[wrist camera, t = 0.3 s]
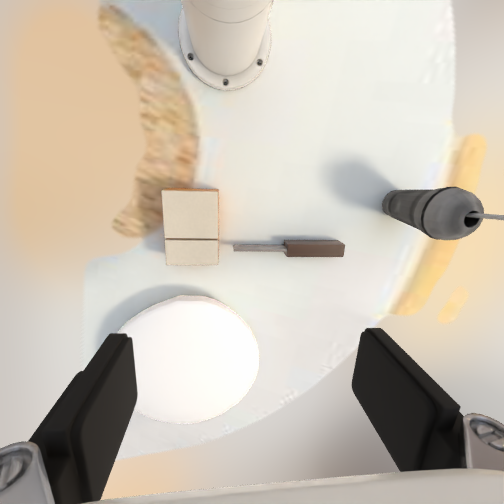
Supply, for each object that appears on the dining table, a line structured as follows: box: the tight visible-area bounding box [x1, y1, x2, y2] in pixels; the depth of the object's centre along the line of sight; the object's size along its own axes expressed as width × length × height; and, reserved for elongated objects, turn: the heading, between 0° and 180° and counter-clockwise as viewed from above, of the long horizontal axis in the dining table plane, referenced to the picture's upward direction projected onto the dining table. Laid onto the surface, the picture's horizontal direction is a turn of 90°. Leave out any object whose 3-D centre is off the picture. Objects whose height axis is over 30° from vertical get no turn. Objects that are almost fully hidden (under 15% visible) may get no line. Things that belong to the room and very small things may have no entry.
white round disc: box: [117, 295, 259, 424], centre depth 49 cm, size 28×6×27 cm
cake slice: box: [165, 234, 219, 265], centre depth 43 cm, size 4×8×5 cm, turn 88°
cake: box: [161, 188, 219, 239], centre depth 41 cm, size 7×8×5 cm
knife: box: [233, 240, 345, 257], centre depth 46 cm, size 2×19×3 cm, turn 88°
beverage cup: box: [382, 187, 504, 240], centre depth 38 cm, size 7×7×20 cm
